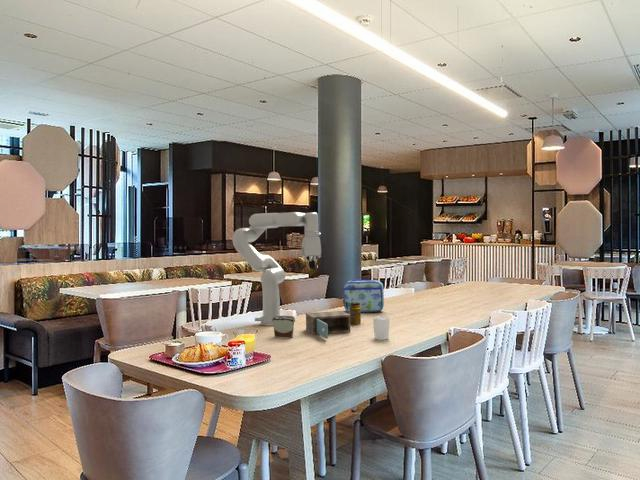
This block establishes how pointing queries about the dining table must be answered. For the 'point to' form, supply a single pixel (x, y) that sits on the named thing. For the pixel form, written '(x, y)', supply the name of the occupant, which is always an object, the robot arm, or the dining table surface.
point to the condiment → (355, 314)
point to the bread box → (329, 321)
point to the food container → (283, 326)
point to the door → (322, 328)
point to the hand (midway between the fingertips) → (311, 268)
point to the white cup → (381, 328)
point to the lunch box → (364, 295)
